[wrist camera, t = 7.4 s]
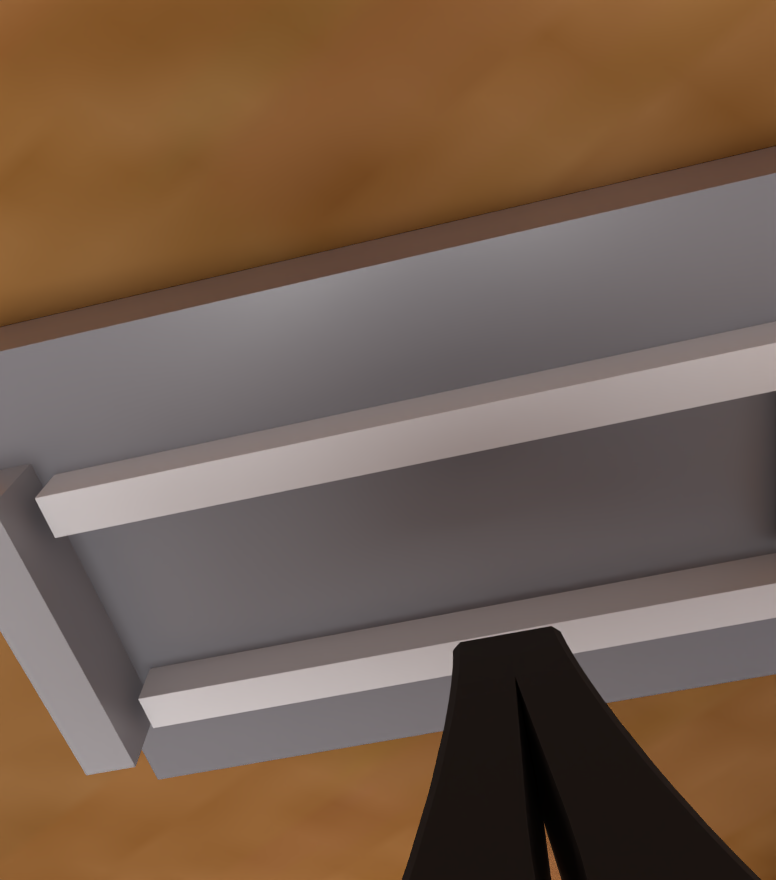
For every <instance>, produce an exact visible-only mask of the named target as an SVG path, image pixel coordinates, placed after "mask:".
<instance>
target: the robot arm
mask: <svg viewBox="0 0 776 880" xmlns="http://www.w3.org/2000/svg"><path fill="white" fill-rule="evenodd" d="M544 824H545V827H546V831H547V834H548V837H549V840H550V844H551V847H552V850H553V853H554V857H555V860H556V863H557V866H558V870H559V873H560V876H561V879H562V880H761V879H760V878H759V877H758V876H757V875H756V874H755V873H754V872H753V871H752V870H751V869H750V868H749V867H748V866H747V865H746V864H745V863H744V862H743V861H742V860H741V859H740V858H739V857H738V856H737V855H736V854H735V853H734V852H733V851H732V850H731V849H730V848H729V847H728V846H727V845H726V844H725V843H724V842H723V840H722V839H721V838H720V837H719V836H718V835H717V834H716V833H715V832H714V831H713V830H712V829H711V828H710V827H709V826H708V825H707V823H706V822H705V821H704V820H703V819H702V818H701V817H700V816H699V815H698V813H697V812H696V811H695V810H694V809H693V808H692V807H691V806H690V805H689V803H688V802H687V801H686V800H685V799H684V798H683V797H682V796H681V795H680V793H679V792H678V791H677V790H676V789H675V788H674V787H673V786H672V784H671V783H670V782H669V781H668V780H667V779H666V777H665V776H664V775H663V774H662V773H661V772H660V770H659V769H658V768H657V767H656V766H655V765H654V763H653V762H652V761H651V760H650V758H649V757H648V756H647V755H646V753H645V752H644V751H643V750H642V748H641V747H640V746H639V745H638V744H637V742H636V741H635V740H634V739H633V737H632V736H631V735H630V734H629V732H628V731H627V730H626V729H625V727H624V726H623V725H622V724H621V722H620V721H619V720H618V718H617V717H616V716H615V714H614V713H613V712H612V710H611V709H610V708H609V706H608V705H607V704H606V702H605V701H604V700H603V698H602V697H601V695H600V694H599V693H598V691H597V690H596V688H595V687H594V685H593V684H592V683H591V681H590V680H589V678H588V677H587V675H586V674H585V672H584V671H583V669H582V668H581V666H580V665H579V663H578V661H577V660H576V658H575V657H574V655H573V653H572V652H571V650H570V648H569V646H568V645H567V643H566V641H565V639H564V637H563V635H562V633H561V631H559V630H557V629H556V628H554V627H552V626H548V627H542V628H537V629H531V630H526V631H520V632H514V633H509V634H503V635H498V636H492V637H486V638H481V639H475V640H470V641H464V642H460V643H459V644H458V645H457V646H456V647H455V648H454V650H453V668H452V679H451V688H450V695H449V702H448V708H447V713H446V719H445V724H444V730H443V735H442V739H441V743H440V748H439V752H438V756H437V760H436V765H435V769H434V773H433V778H432V782H431V786H430V789H429V793H428V797H427V800H426V804H425V807H424V810H423V814H422V817H421V820H420V824H419V827H418V830H417V834H416V837H415V840H414V844H413V847H412V850H411V854H410V857H409V860H408V863H407V866H406V869H405V872H404V875H403V878H402V880H551V875H550V867H549V859H548V851H547V843H546V836H545V828H544Z"/></svg>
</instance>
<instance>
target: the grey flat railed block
mask: <svg viewBox="0 0 776 880" xmlns="http://www.w3.org/2000/svg"><path fill="white" fill-rule="evenodd" d="M548 626H552V627H554V628H556V629H557V630H559V631H561V633H562V635H563V637H564V639H565V641H566V643H567V645H568V646H569V648H570V650H571V652H572V653H573V655H574V657H575V658H576V660H577V661H578V663H579V665H580V666H581V668H582V669H583V671H584V672H585V674H586V675H587V677H588V678H589V680H590V681H591V683H592V684H593V685H594V687H595V688H596V690H597V691H598V693H599V694H600V695H601V697H602V698H603V700H604V701H605V702H606V703H609V702H615V701H621V700H627V699H633V698H638V697H644V696H650V695H656V694H662V693H668V692H673V691H679V690H685V689H691V688H697V687H703V686H709V685H714V684H720V683H726V682H732V681H738V680H744V679H750V678H755V677H761V676H767V675H773V674H776V146H774V147H770V148H766V149H761V150H757V151H753V152H749V153H744V154H740V155H736V156H731V157H727V158H723V159H719V160H714V161H710V162H706V163H701V164H697V165H693V166H689V167H684V168H680V169H676V170H671V171H667V172H663V173H659V174H654V175H650V176H646V177H641V178H637V179H633V180H629V181H624V182H620V183H616V184H611V185H607V186H603V187H599V188H594V189H590V190H586V191H581V192H577V193H573V194H569V195H564V196H560V197H556V198H551V199H547V200H543V201H539V202H534V203H530V204H526V205H522V206H517V207H513V208H509V209H504V210H500V211H496V212H492V213H487V214H483V215H479V216H474V217H470V218H466V219H462V220H457V221H453V222H449V223H444V224H440V225H436V226H432V227H427V228H423V229H419V230H414V231H410V232H406V233H402V234H397V235H393V236H389V237H384V238H380V239H376V240H372V241H367V242H363V243H359V244H354V245H350V246H346V247H342V248H337V249H333V250H329V251H324V252H320V253H316V254H312V255H307V256H303V257H299V258H294V259H290V260H286V261H282V262H277V263H273V264H269V265H264V266H260V267H256V268H252V269H247V270H243V271H239V272H234V273H230V274H226V275H222V276H217V277H213V278H209V279H204V280H200V281H196V282H192V283H187V284H183V285H179V286H174V287H170V288H166V289H162V290H157V291H153V292H149V293H144V294H140V295H136V296H132V297H127V298H123V299H119V300H114V301H110V302H106V303H102V304H97V305H93V306H89V307H84V308H80V309H76V310H72V311H67V312H63V313H59V314H54V315H50V316H46V317H42V318H37V319H33V320H29V321H24V322H20V323H16V324H12V325H7V326H3V327H0V631H1V633H2V635H3V636H4V638H5V640H6V641H7V643H8V645H9V646H10V648H11V650H12V651H13V653H14V655H15V656H16V658H17V660H18V661H19V663H20V665H21V666H22V668H23V670H24V671H25V673H26V675H27V677H28V678H29V680H30V682H31V683H32V685H33V687H34V688H35V690H36V692H37V693H38V695H39V697H40V698H41V700H42V702H43V703H44V705H45V707H46V708H47V710H48V712H49V713H50V715H51V717H52V718H53V720H54V722H55V723H56V725H57V727H58V728H59V730H60V732H61V733H62V735H63V737H64V738H65V740H66V742H67V744H68V745H69V747H70V749H71V750H72V752H73V754H74V755H75V757H76V759H77V760H78V762H79V764H80V765H81V767H82V769H83V770H84V772H85V774H86V775H91V774H96V773H102V772H108V771H114V770H120V769H125V768H131V767H135V766H136V764H137V761H138V758H139V755H140V752H141V750H143V752H144V754H145V756H146V758H147V760H148V762H149V764H150V765H151V767H152V769H153V771H154V773H155V775H156V777H157V778H158V779H164V778H170V777H176V776H182V775H188V774H194V773H199V772H205V771H211V770H217V769H223V768H229V767H235V766H240V765H246V764H252V763H258V762H264V761H270V760H275V759H281V758H287V757H293V756H299V755H305V754H311V753H316V752H322V751H328V750H334V749H340V748H346V747H352V746H357V745H363V744H369V743H375V742H381V741H387V740H393V739H398V738H404V737H410V736H416V735H422V734H428V733H434V732H439V731H443V730H444V724H445V719H446V713H447V708H448V702H449V695H450V688H451V679H452V668H453V650H454V648H455V647H456V646H457V645H458V644H459V643H460V642H464V641H470V640H475V639H481V638H486V637H492V636H498V635H503V634H509V633H514V632H520V631H526V630H531V629H537V628H542V627H548Z"/></svg>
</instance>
